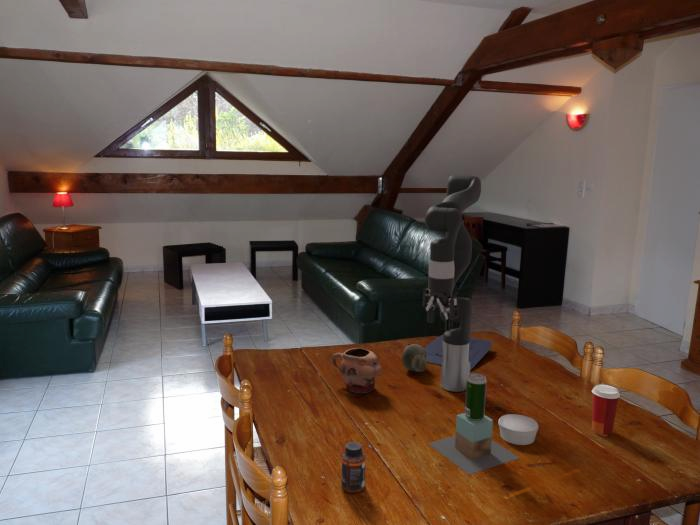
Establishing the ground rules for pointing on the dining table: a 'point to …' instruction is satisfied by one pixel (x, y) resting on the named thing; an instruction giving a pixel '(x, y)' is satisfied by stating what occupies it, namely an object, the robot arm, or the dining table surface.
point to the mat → (476, 464)
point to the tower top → (474, 428)
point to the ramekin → (518, 429)
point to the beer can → (475, 397)
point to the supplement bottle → (353, 468)
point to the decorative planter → (358, 369)
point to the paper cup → (604, 408)
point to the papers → (475, 350)
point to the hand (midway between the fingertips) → (439, 326)
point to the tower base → (473, 446)
